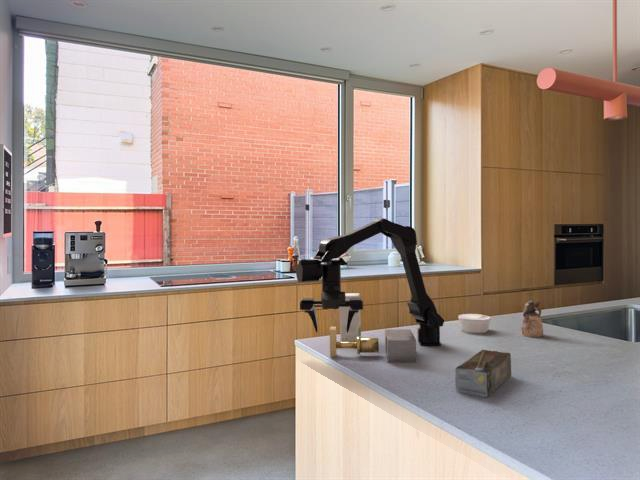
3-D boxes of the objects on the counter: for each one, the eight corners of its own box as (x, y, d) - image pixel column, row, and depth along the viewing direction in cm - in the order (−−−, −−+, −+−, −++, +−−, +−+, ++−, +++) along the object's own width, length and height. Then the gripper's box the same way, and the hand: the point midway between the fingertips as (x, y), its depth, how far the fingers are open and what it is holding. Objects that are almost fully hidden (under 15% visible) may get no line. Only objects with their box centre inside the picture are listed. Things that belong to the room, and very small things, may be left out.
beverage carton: (453, 392, 112) (453, 364, 112) (481, 371, 128) (481, 347, 127) (487, 399, 108) (487, 370, 107) (512, 377, 123) (512, 351, 123)
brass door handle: (378, 352, 146) (377, 326, 146) (378, 356, 141) (378, 329, 141) (330, 352, 147) (330, 326, 147) (330, 356, 142) (329, 330, 142)
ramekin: (495, 334, 169) (494, 319, 169) (463, 334, 169) (463, 319, 169) (484, 327, 180) (484, 313, 180) (454, 327, 180) (454, 313, 180)
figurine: (525, 331, 171) (525, 298, 171) (546, 334, 166) (546, 300, 166) (517, 335, 166) (517, 300, 166) (538, 338, 161) (538, 303, 161)
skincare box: (358, 342, 160) (357, 296, 160) (339, 341, 162) (338, 295, 161) (361, 336, 169) (360, 292, 168) (342, 336, 170) (342, 292, 169)
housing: (410, 349, 150) (410, 329, 150) (416, 362, 136) (416, 340, 136) (384, 349, 150) (384, 329, 150) (387, 362, 136) (387, 340, 136)
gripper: (297, 284, 136) (298, 338, 137) (362, 283, 135) (363, 338, 136) (301, 279, 148) (302, 330, 148) (362, 279, 146) (363, 330, 147)
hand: (332, 332), depth 144 cm, fingers open, 9 cm apart
